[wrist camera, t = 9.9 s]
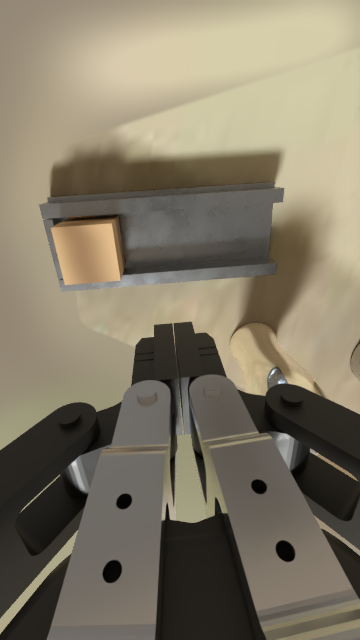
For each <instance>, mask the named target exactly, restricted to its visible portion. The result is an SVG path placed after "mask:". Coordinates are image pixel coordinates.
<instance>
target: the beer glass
mask: <svg viewBox="0 0 360 640" xmlns="http://www.w3.org/2000/svg"><path fill="white" fill-rule="evenodd" d="M230 352H231V354H232V356H233V357H234V359H235V360H236V361H237V362H238V363H239V365H240V367H241V370H242V376H243V383H244V389H245V393H250V394H256V395H263V396H266V392H267V391H268V389H269V388H271V387H272V386H275V385H278V384H293V385H298V386H301V387H303V388H305V389H307V390H309V391H311V392H314V393H316V394H318V395H320V396H322V397H324V398H326V399H328V397H327V396H326V394H325V393H324V391H323V390H322V388H321V387H320V386H319V384H318V383H317V381H316V380H315V379H314V378H313V377H312V375H311V374H310V373H309V372H308V371H307V370H306V369H305V368H304V367H303V366H302V365H301V364H300V363H299V362H297V361H296V360H295V359H294V358H293V357H291V356H290V355H289V354H288V353H286V352H285V351H284V350H283V349H282V348H281V347H280V345H279V344H278V341H277V338H276V335H275V333H274V332H273V330H272V329H271V328H270V327H269V326H267V325H265V324H262V323H250V324H247V325H244V326H242V327H241V328H239V329H238V330H237V331H236V332H235V333H234V334H233V336H232V338H231V340H230ZM328 400H329V399H328ZM310 452H311V453H312V454H314V455H318V454H319V453H317V452H315V451H314V450H312V449H311V448H310Z"/></svg>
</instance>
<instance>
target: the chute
mask: <svg viewBox="0 0 360 640" xmlns="http://www.w3.org/2000/svg"><path fill="white" fill-rule="evenodd" d="M274 184H275V182H263V183H248V184H233V185H218V186H203V187H189V188H174V189H159V190H144V191H129V192H114V193H99V194H85V195H70V196H55V197H48V198H47V199H48V202H47V203H44V204H40V205H39V206H40V210H41V214H42V218H43V219H45V220H43V221H44V226H45V230H46V233H47V237H48V241H49V245H50V249H51V253H52V257H53V261H54V264H55V268H56V272H57V276H58V279H59V284H60V287H61V291H62V292H64V291H76V290H89V289H101V288H113V287H126V286H138V285H150V284H163V283H175V282H187V281H200V280H212V279H224V278H237V277H249V276H261V275H274V274H276V270H277V263H276V262H275V261H274V260H272V259H271V258H270V257H269V247H270V234H271V222H272V209H273V203H277V202H283V196H284V188H280V187H274ZM116 215H118V217H119V224H120V231H121V237H122V244H123V251H124V258H125V268H124V272H123V275H122V278H121V281H110V282H98V283H85V284H73V285H65V284H64V280H63V276H62V272H61V268H60V264H59V259H58V255H57V251H56V247H55V243H54V239H53V235H52V231H51V227H53V226H55V225H57V224H58V223H60V222H62V221H64V220H66V219H74V218H88V217H102V216H116Z"/></svg>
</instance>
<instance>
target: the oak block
mask: <svg viewBox="0 0 360 640" xmlns="http://www.w3.org/2000/svg"><path fill="white" fill-rule="evenodd" d="M51 231H52V235H53V239H54V243H55V247H56V251H57V255H58V259H59V264H60V268H61V272H62V276H63V280H64V284H65V285H73V284H85V283H98V282H110V281H121V278H122V275H123V272H124V268H125V258H124V251H123V244H122V237H121V231H120V224H119V217H118V215H116V216H102V217H88V218H74V219H66V220H64V221H62V222H60V223H58V224H57V225H55V226H53V227H51Z"/></svg>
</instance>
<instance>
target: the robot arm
mask: <svg viewBox="0 0 360 640" xmlns="http://www.w3.org/2000/svg"><path fill="white" fill-rule="evenodd" d="M174 334H175V344H174V335H173V326H172V324H160V325H154V337H150V338H142V339H141V340H140V341H139V342H138V344H137V345H136V349H135V358H134V367H133V375H132V384H131V387H129V388H128V389H127V391H126V392H125V394H124V396H123V400H122V402H120V403H119V404H117V405H115V406H113V407H110V408H107V409H104V410H101V411H98V412H96V410H95V408H94V407H93V406H91V405H90V404H87V403H81V402H80V403H79V402H78V403H71V404H68V405H65V406H62V407H60V408H58V409H57V410H55V411H54V412H53V413H51V414H50V415H48V416H47V417H46V418H44V419H43V420H41V421H40V422H39V423H37V424H36V425H35V426H33V427H32V428H30V429H29V430H28V431H26V432H25V433H24V434H22V435H21V436H20V437H18V438H17V439H16V440H14V441H13V442H11V443H10V444H8V445H7V446H6V447H4V448H3V449H2V450H0V618H1V616H3V614H4V613H5V612H6V611H7V610H8V609H9V608H10V606H11V605H12V604H13V603H14V602H15V601H16V599H17V598H18V597H19V596H20V595H21V594H22V593H23V592H24V590H25V589H26V588H27V587H28V586H29V585H30V584H31V583H32V581H33V580H34V579H35V578H36V577H37V576H38V575H39V573H40V572H41V571H42V570H43V569H44V568H45V566H46V565H47V564H48V563H49V562H50V561H51V560H52V558H53V557H54V556H55V555H56V554H57V553H58V552H59V551H60V549H61V548H62V547H63V546H64V545H65V544H66V543H67V541H68V540H69V539H70V538H71V537H72V536H73V534H74V533H75V532H76V531H77V530H78V533H77V536H76V540H75V543H74V547H73V550H72V553H71V554H70V555H69V556H68V557H67V558H66V559H65V560H63V561H62V562H61V563H60V564H59V565H58V566H57V567H56V568H55V569H54V570H53V571H52V572H51V573H50V574H49V575H48V576H47V578H46V579H45V580H44V581H43V582H42V584H41V585H40V586H39V587H38V588H37V590H36V591H35V592H34V593H33V595H32V596H31V597H30V598H29V600H28V601H27V602H26V603H25V604H24V606H23V607H22V608H21V610H20V611H19V612H18V613H17V614H16V616H15V617H14V618H13V619H12V621H11V622H10V623H9V624H8V625H7V627H6V628H5V629H4V630H3V632H2V633H1V634H0V640H360V556H359V555H358V554H357V553H356V552H354V551H353V550H352V549H351V548H349V547H348V546H347V545H346V544H344V543H343V542H342V541H340V540H339V539H338V538H336V537H335V536H333V535H332V534H330V533H329V532H327V531H325V530H323V529H321V528H320V526H319V524H318V522H317V520H316V519H315V517H314V515H315V516H316V517H317V518H319V519H320V520H321V521H322V522H324V523H325V524H326V525H328V526H329V527H330V528H332V529H333V530H334V531H336V532H337V533H338V534H340V535H341V536H342V537H344V538H345V539H346V540H348V541H349V542H350V543H351V544H353V545H354V546H355V547H357V548H358V549H359V550H360V414H358V413H355V412H353V411H351V410H349V409H347V408H345V407H343V406H341V405H339V404H337V403H335V402H332V401H330V400H328V399H326V398H324V397H322V396H320V395H318V394H316V393H314V392H311V391H309V390H307V389H305V388H303V387H301V386H298V385H293V384H278V385H275V386H272V387H271V388H269V389H268V391H267V392H266V396H263V395H256V394H250V393H245V392H242V391H240V390H238V389H237V388H236V386H235V384H234V383H233V382H232V381H231V380H230V379H228V378H227V376H226V374H225V371H224V368H223V365H222V362H221V359H220V356H219V355H218V351H217V348H216V345H215V342H214V339H213V338H212V337H211V336H209V335H208V334H207V333H196V334H195V333H194V329H193V325H192V322H183V323H174ZM175 348H176V353H175ZM176 361H177V362H176ZM351 369H352V372H353V373H354V375H355V376H356V377H357V378H358V379H359V380H360V344H359V345H358V346H357V348H356V349H355V351H354V353H353V355H352V359H351ZM178 380H179V382H178ZM179 390H180V396H179ZM180 399H181V408H182V417H183V425H184V434H191V438H192V449H193V458H194V463H195V468H196V472H197V477H198V481H199V486H200V490H201V494H202V499H203V504H204V508H205V513H206V519H204V520H202V521H200V522H197V523H187V522H181V521H176V451H177V435H182V423H181V409H180ZM310 448H311V449H312V450H314V451H315V452H317V453H319V454H320V455H322V456H324V457H325V458H327V459H329V460H330V461H332V462H334V463H335V464H337V465H338V466H340V467H342V468H343V469H345V470H347V471H348V472H349V473H351V474H352V475H353V476H354V477H355V478H356V479H357V480H358V481H356V480H354V479H353V478H351V477H349V476H348V475H346V474H345V473H343V472H341V471H339V470H338V469H336V468H335V467H333V466H332V465H330V464H328V463H327V462H325V461H324V460H322V459H320V458H319V457H317V456H316V455H314V454H312V453H311V452H310ZM59 474H60V476H59V477H58V478H57V479H56V480H55V481H54V482H53V483H52V484H51V485H50V486H49V487H48V488H47V489H45V490H44V491H43V492H42V493H41V494H40V495H39V496H38V497H37V498H36V499H35V500H34V501H32V503H30V504H29V505H28V506H27V507H26V508H25V509H24V510H23V511H22V512H21V510H22V509H23V508H24V507H25V506H26V505H27V504H28V503H29V502H30V501H31V500H32V499H33V498H34V497H35V496H36V495H38V494H39V493H40V492H41V491H42V490H43V489H44V488H45V487H46V486H47V485H48V484H49V483H51V482H52V481H53V480H54V479H55V478H56V477H57V476H58V475H59ZM20 512H21V513H20ZM19 513H20V514H19Z"/></svg>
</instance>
